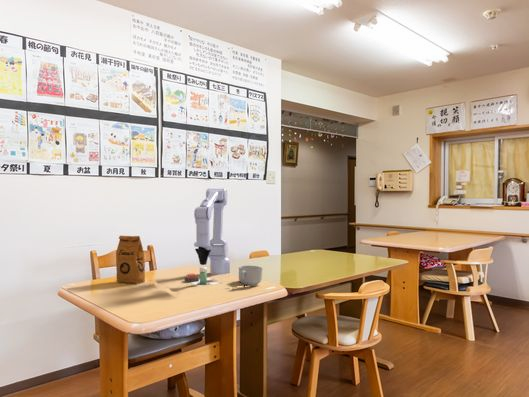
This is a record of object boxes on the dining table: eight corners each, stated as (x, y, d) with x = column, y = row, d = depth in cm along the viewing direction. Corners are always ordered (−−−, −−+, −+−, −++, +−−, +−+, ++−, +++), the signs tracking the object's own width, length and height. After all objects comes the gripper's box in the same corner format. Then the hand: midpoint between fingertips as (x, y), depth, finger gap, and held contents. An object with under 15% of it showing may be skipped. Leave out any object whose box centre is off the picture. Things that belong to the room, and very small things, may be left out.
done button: (193, 277, 180) (193, 273, 180) (195, 278, 178) (195, 274, 178) (187, 278, 179) (187, 274, 179) (189, 279, 176) (189, 275, 176)
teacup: (248, 281, 184) (248, 264, 184) (267, 283, 177) (267, 266, 177) (229, 286, 172) (229, 268, 172) (248, 290, 166) (248, 271, 166)
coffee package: (135, 285, 176) (134, 237, 175) (113, 283, 180) (112, 236, 180) (148, 281, 185) (148, 234, 185) (127, 279, 189) (127, 234, 189)
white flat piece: (209, 279, 187) (209, 273, 187) (224, 285, 174) (224, 279, 174) (183, 283, 179) (183, 277, 179) (197, 289, 167) (197, 283, 167)
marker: (205, 282, 175) (204, 266, 175) (208, 283, 172) (208, 267, 172) (198, 283, 173) (198, 267, 173) (201, 284, 170) (201, 268, 170)
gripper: (188, 233, 176) (188, 263, 176) (201, 235, 164) (201, 267, 164) (202, 232, 180) (202, 261, 180) (216, 234, 168) (216, 266, 168)
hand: (203, 264), depth 172 cm, fingers closed
